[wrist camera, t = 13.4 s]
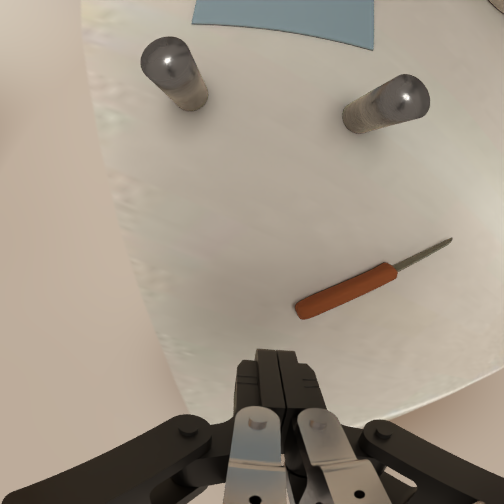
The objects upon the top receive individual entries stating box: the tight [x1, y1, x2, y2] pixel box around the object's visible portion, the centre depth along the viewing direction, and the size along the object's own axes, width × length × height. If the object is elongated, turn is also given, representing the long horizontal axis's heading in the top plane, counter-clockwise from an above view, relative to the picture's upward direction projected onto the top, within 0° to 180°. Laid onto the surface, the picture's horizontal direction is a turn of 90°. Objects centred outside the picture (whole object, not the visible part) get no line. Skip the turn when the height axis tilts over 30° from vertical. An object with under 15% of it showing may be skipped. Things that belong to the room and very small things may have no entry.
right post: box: [342, 74, 430, 134], centre depth 19 cm, size 3×3×9 cm
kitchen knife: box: [295, 238, 453, 320], centre depth 26 cm, size 16×1×2 cm, turn 114°
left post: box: [141, 37, 208, 111], centre depth 18 cm, size 3×3×9 cm
